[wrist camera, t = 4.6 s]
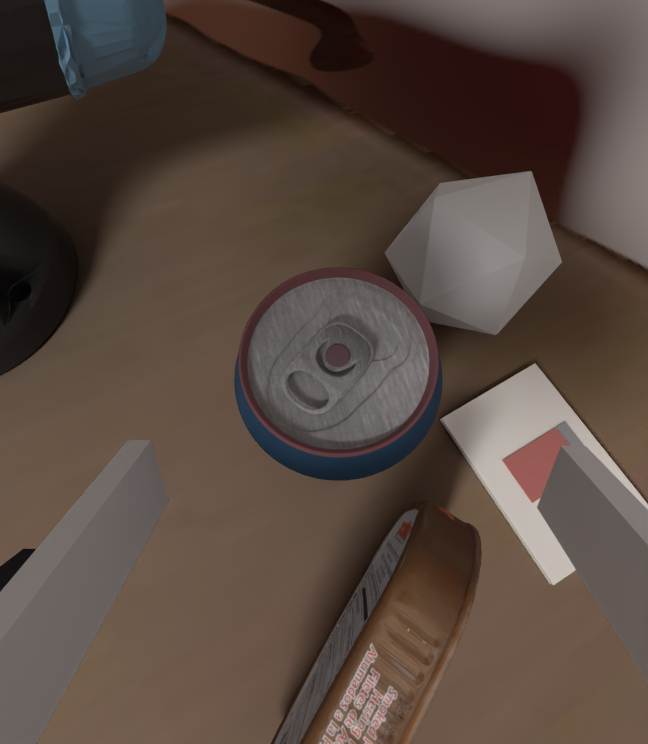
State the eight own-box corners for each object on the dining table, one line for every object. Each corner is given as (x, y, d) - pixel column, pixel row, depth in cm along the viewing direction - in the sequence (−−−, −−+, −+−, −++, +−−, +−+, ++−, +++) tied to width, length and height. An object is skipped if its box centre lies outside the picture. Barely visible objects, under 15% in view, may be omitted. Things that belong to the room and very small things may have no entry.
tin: (296, 811, 16) (256, 1144, 8) (242, 761, 17) (155, 1024, 9) (448, 519, 20) (527, 547, 11) (399, 486, 20) (442, 491, 12)
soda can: (330, 347, 23) (325, 212, 11) (416, 415, 21) (510, 339, 10) (257, 427, 21) (165, 366, 10) (343, 506, 20) (354, 543, 8)
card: (439, 419, 21) (441, 418, 21) (531, 365, 22) (536, 362, 21) (549, 582, 18) (554, 585, 18) (649, 513, 19) (657, 514, 19)
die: (482, 233, 26) (429, 120, 19) (602, 271, 20) (588, 126, 13) (408, 319, 27) (336, 243, 20) (501, 380, 21) (440, 300, 14)
